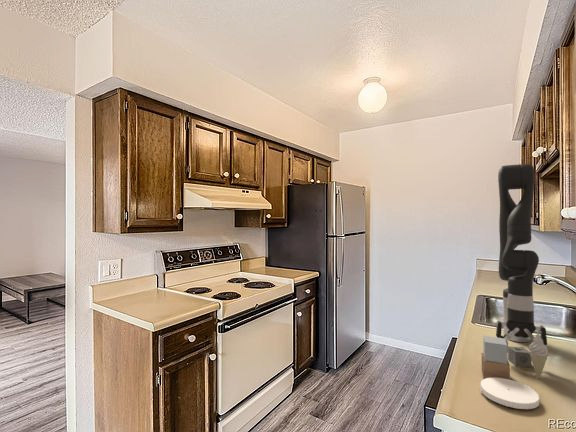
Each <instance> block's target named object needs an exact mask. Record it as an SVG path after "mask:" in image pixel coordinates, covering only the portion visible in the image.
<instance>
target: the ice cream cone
mask: <svg viewBox="0 0 576 432" xmlns="http://www.w3.org/2000/svg"><path fill="white" fill-rule="evenodd" d="M534 337H535V338H534V339H533V341H532V342H531V343H530V344H528V347H529V348H528V352H529V354H530V357H531V360H532V366H533V368H534V372H535V375H536V378H537V379H538V380H540V379H541V376H542V373H543V370H544V367H545V365H546V362H547V359H548V357H549V349H548V346H547V345H546V346H545V345H544V343H543V340H542V339H541V336H540V333H539V332H538V331H537V332H536V335H535V336H534Z"/></svg>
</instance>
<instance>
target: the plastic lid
mask: <svg viewBox="0 0 576 432" xmlns="http://www.w3.org/2000/svg"><path fill="white" fill-rule="evenodd" d="M479 385H480V387H479V389H480V392H481V393H482V394H483V395H484V396H485V397H486V398H487V399H489V400H491V401H492V402H495V403H496V404H499V405H502V406H505V407H509V408H513V409H519V410H532V409H536V408H538V407H539V405H540V395H539V393H538V392H537V391H536V390H534V389H533V387H530V386H528V385H525V384H524V383H521V382H520V381H516V380H512V379H511V378H510V379H505V378H493V377H492V378H486V379H483V378H482V380H480V384H479Z"/></svg>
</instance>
